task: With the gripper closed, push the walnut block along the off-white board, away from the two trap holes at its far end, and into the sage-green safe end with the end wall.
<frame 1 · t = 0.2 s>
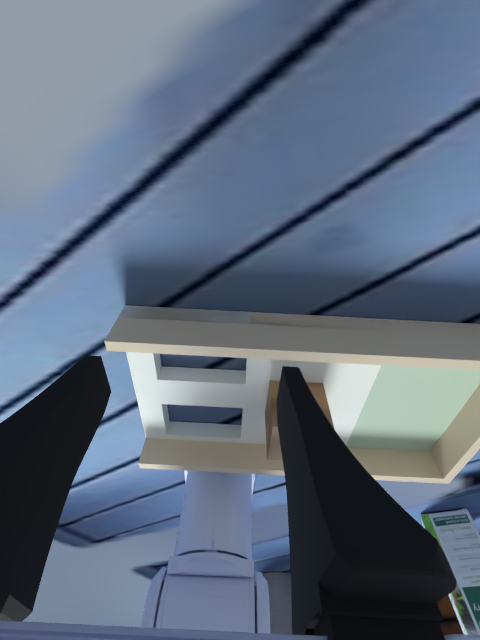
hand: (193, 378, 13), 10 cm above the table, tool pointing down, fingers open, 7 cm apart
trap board: (302, 385, 27), on the table
pillar candle: (276, 578, 59), on the table
wooden figurine: (423, 555, 50), on the table
walnut block: (292, 399, 26), point 1 cm above the table, touching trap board
syrup box: (442, 517, 42), on the table
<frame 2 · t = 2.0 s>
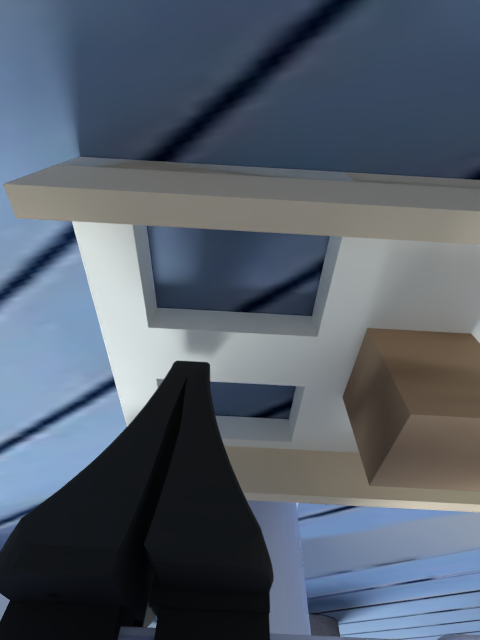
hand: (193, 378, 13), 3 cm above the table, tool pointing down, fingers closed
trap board: (409, 347, 15), on the table
pillar candle: (304, 619, 47), on the table
walnut block: (401, 368, 14), point 1 cm above the table, touching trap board
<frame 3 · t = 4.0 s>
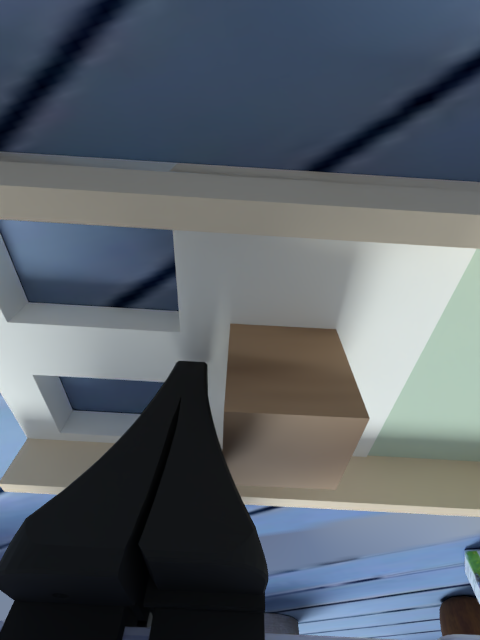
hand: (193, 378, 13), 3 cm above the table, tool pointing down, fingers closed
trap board: (293, 343, 15), on the table
pillar candle: (264, 618, 47), on the table
wooden figurine: (457, 597, 38), on the table
walnut block: (276, 364, 14), point 2 cm above the table, touching gripper, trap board
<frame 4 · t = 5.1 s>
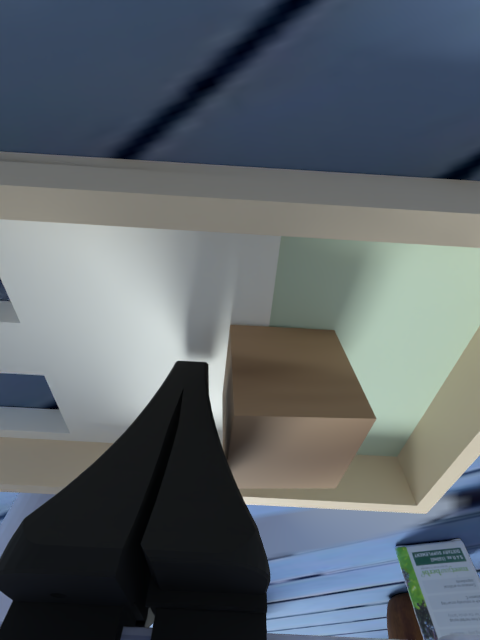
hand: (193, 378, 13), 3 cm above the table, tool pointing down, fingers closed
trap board: (157, 335, 15), on the table
wooden figurine: (405, 594, 38), on the table
walnut block: (274, 365, 14), point 2 cm above the table, touching gripper, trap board
syrup box: (427, 549, 30), on the table
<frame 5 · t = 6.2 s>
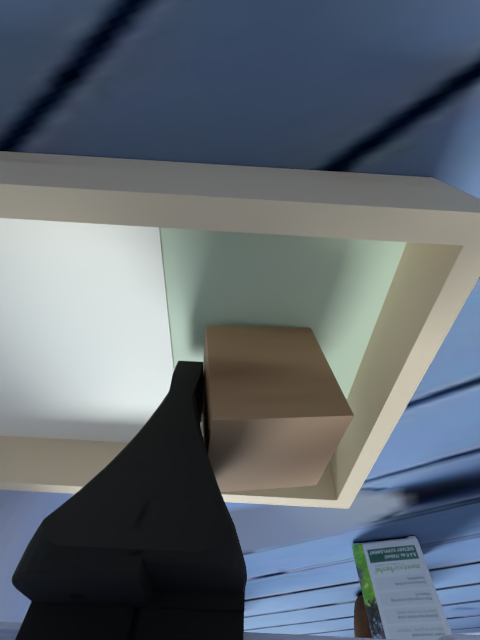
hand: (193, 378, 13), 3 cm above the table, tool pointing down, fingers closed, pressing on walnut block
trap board: (73, 330, 15), on the table
wooden figurine: (373, 592, 38), on the table
walnut block: (252, 365, 13), point 2 cm above the table, tilted 9°, touching gripper, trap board
syrup box: (386, 547, 30), on the table
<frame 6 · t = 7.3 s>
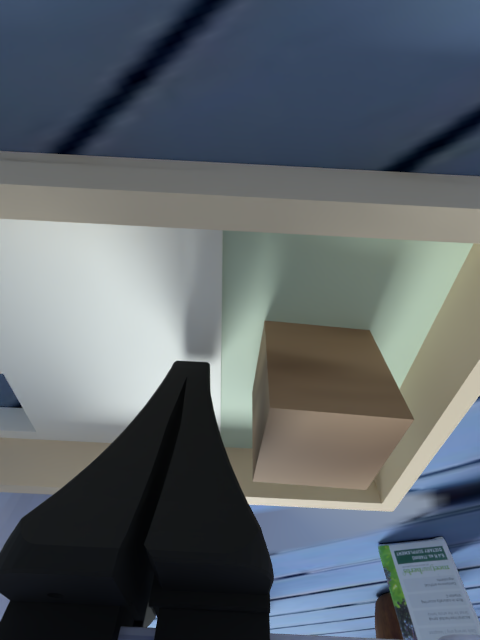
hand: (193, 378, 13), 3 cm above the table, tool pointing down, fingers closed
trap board: (117, 333, 15), on the table
wooden figurine: (393, 593, 38), on the table
walnut block: (305, 363, 14), point 1 cm above the table, touching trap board
syrup box: (411, 548, 29), on the table
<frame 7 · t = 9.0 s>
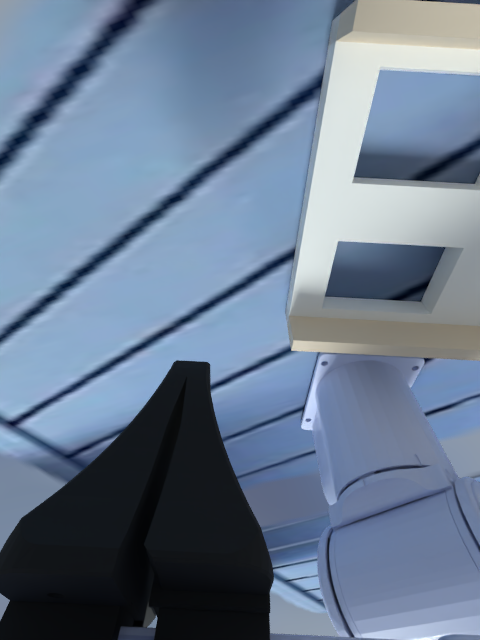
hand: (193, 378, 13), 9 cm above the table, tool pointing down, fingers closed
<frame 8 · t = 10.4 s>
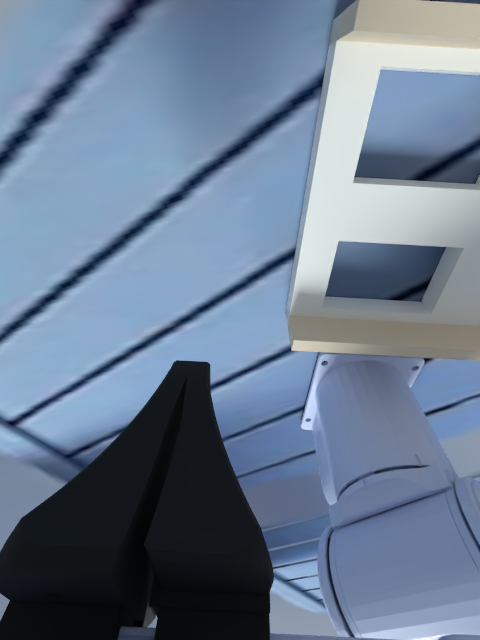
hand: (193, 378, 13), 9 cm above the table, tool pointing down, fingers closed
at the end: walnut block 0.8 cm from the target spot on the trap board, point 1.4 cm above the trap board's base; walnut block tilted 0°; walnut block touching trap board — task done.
